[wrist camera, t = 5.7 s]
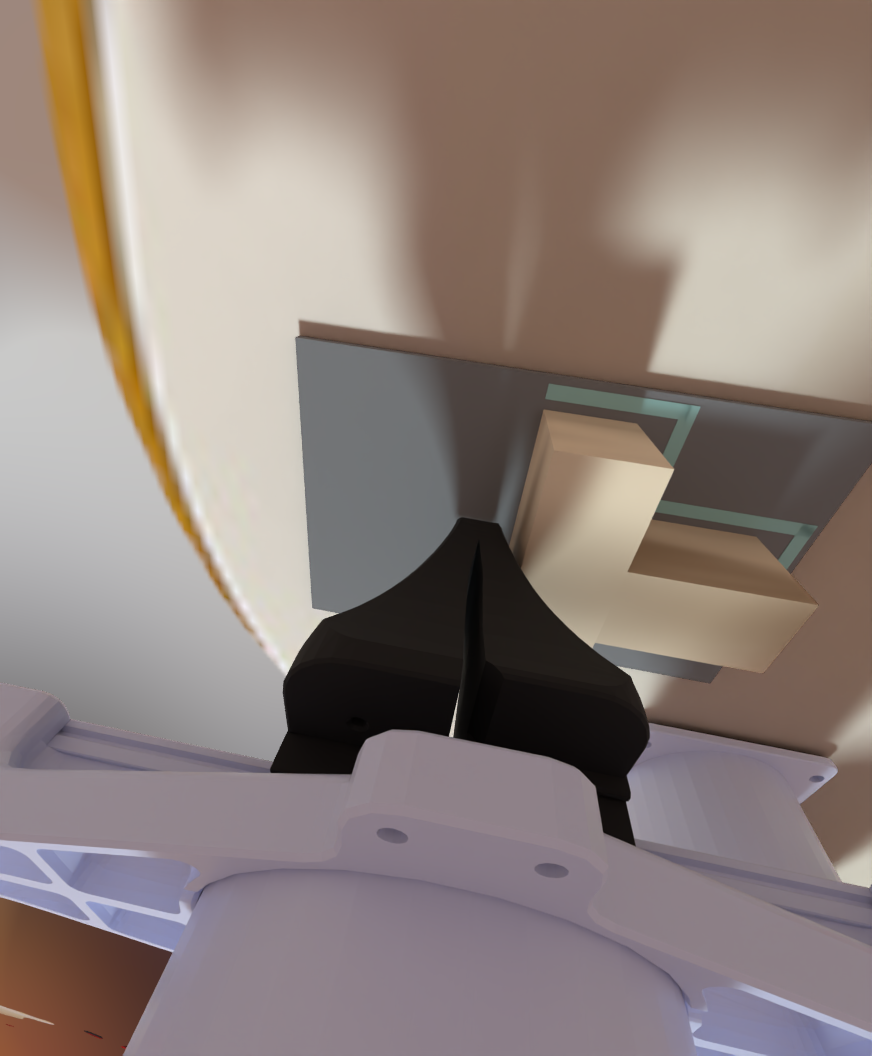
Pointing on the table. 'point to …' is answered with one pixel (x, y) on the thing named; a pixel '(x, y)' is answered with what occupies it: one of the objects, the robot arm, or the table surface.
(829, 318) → the table surface
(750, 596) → the t block
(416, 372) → the mat
